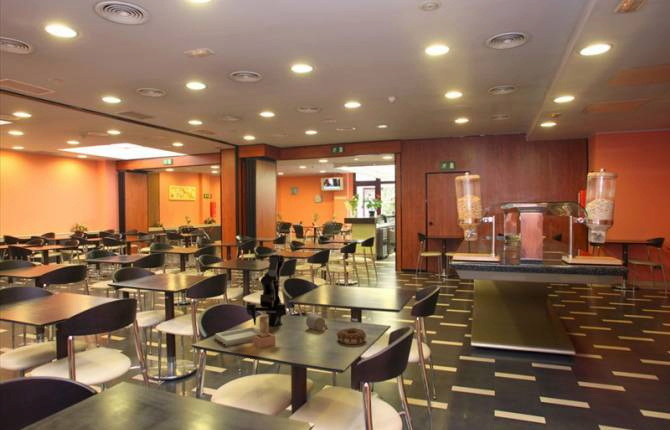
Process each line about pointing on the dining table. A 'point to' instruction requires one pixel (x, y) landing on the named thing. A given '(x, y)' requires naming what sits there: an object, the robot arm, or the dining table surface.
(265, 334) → the dowel
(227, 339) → the tray
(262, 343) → the square frame
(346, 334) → the donut
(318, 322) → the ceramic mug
